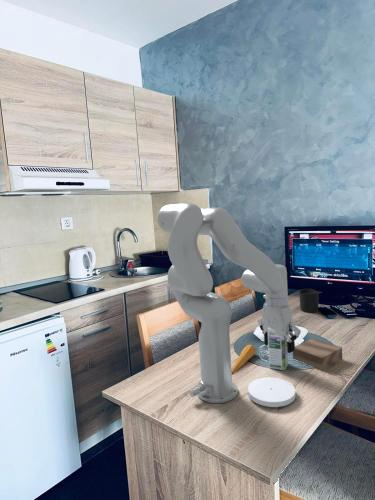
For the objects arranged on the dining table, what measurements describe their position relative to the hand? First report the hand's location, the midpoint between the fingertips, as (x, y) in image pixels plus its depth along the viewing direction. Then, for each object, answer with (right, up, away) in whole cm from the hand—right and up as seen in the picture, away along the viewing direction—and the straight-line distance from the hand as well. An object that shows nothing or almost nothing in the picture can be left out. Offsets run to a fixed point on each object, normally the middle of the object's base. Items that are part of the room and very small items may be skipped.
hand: (279, 347), depth 124 cm
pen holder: (+30, +3, +58) cm, 65 cm away
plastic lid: (-7, -10, -17) cm, 21 cm away
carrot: (-13, -8, +4) cm, 16 cm away
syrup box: (0, -7, +1) cm, 7 cm away
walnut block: (+15, -6, +3) cm, 16 cm away
